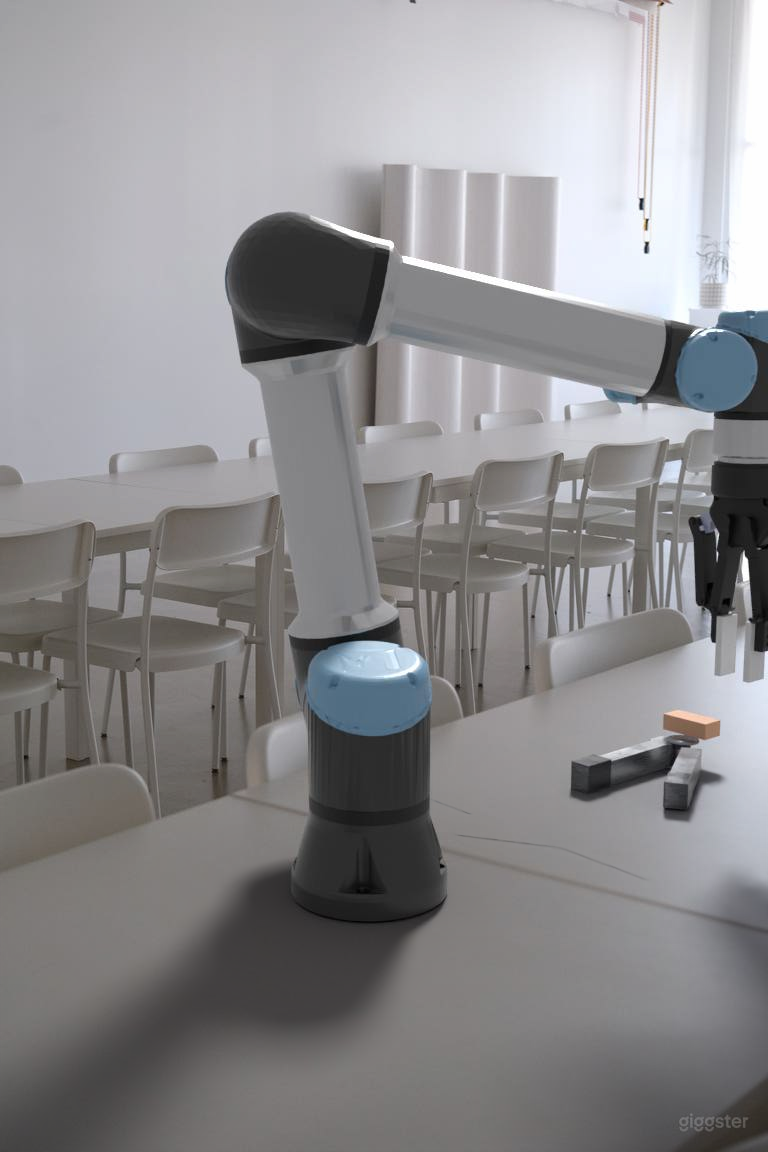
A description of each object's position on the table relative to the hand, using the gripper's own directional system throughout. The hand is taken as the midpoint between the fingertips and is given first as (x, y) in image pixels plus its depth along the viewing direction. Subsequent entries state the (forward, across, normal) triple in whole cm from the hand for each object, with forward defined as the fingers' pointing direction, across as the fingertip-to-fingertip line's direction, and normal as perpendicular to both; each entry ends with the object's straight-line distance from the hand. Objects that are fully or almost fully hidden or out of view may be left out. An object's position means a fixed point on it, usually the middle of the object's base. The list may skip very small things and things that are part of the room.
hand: (738, 676), depth 149 cm
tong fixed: (+17, +17, -4) cm, 24 cm away
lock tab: (+13, +16, -14) cm, 25 cm away
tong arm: (+16, +12, -6) cm, 21 cm away
